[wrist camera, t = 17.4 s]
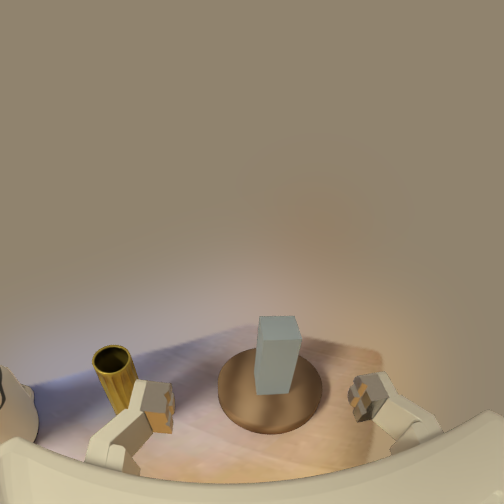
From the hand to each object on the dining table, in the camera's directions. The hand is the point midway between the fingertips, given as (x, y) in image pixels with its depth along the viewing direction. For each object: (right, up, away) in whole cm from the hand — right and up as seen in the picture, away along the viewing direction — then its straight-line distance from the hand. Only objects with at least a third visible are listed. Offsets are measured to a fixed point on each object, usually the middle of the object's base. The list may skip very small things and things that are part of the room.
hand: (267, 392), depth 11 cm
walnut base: (+2, -18, +31) cm, 36 cm away
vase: (-19, -20, +23) cm, 36 cm away
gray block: (+2, -15, +30) cm, 34 cm away
